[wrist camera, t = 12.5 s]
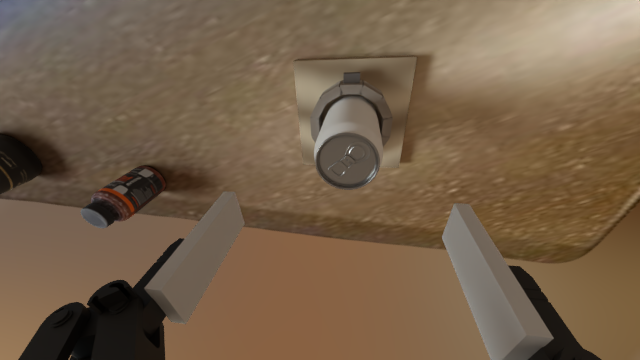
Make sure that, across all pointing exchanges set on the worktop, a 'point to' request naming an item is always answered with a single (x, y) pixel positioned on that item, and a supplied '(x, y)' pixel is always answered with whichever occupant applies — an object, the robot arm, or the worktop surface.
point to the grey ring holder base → (355, 79)
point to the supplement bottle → (123, 197)
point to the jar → (16, 164)
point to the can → (349, 144)
